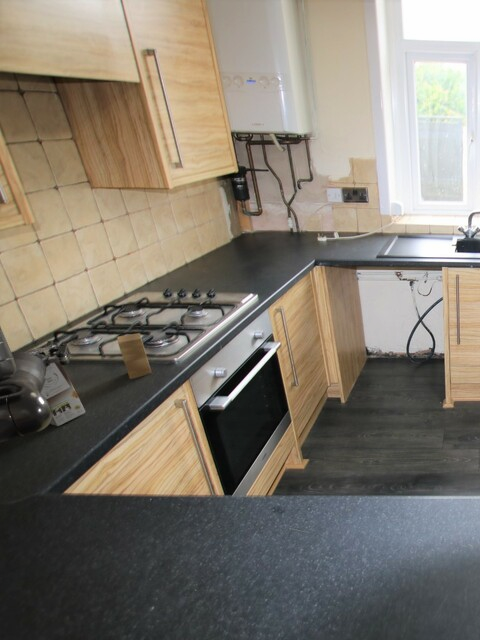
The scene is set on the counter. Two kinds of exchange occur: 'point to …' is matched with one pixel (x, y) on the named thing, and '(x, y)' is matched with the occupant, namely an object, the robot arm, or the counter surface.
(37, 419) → the robot arm
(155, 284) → the counter surface
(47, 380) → the coffee box
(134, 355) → the birch block
